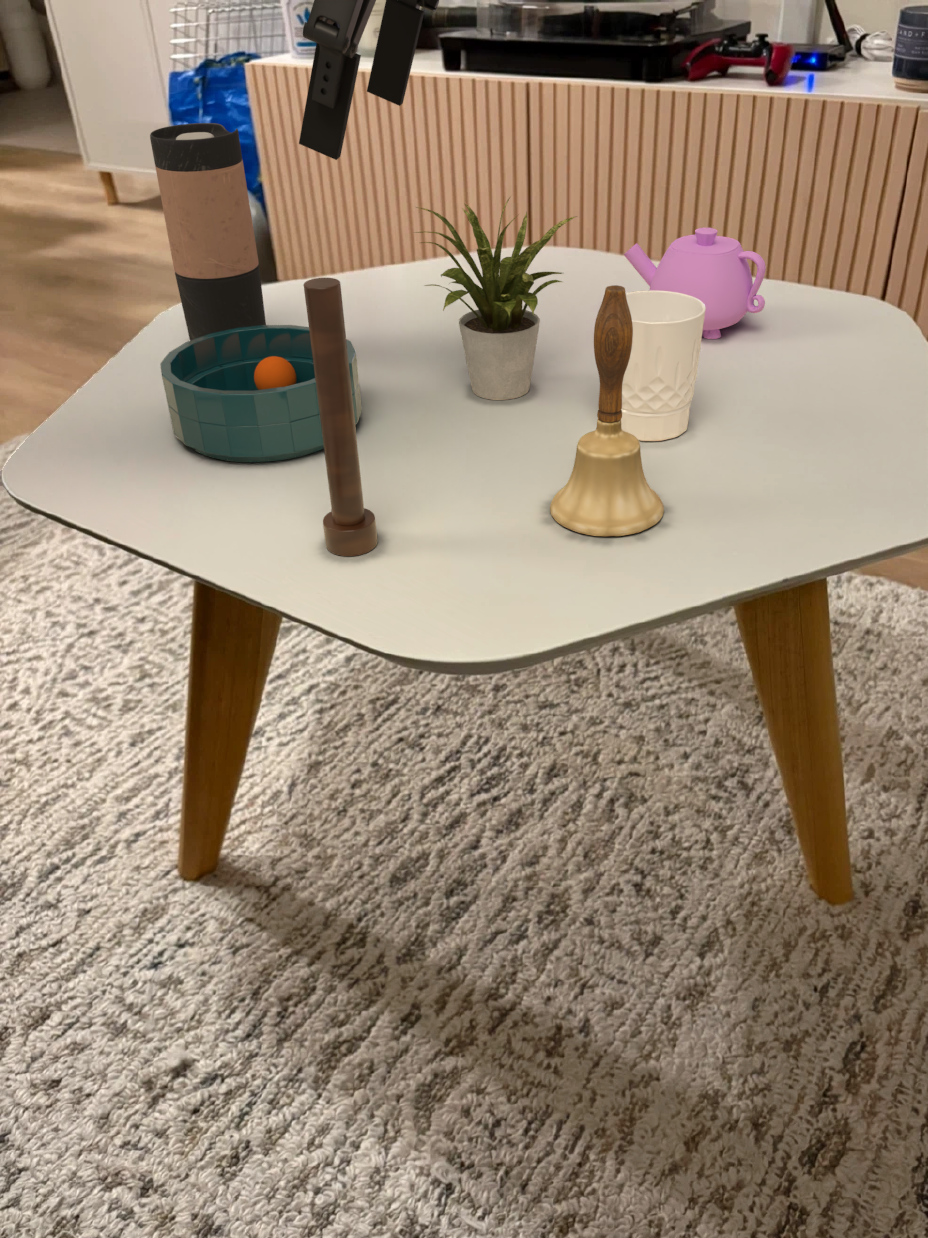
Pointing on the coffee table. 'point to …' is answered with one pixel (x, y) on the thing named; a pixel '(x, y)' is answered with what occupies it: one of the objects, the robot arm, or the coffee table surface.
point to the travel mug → (209, 226)
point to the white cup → (661, 363)
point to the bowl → (247, 395)
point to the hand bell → (609, 444)
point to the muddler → (337, 422)
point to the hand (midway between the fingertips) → (354, 122)
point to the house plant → (498, 310)
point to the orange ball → (274, 373)
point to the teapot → (706, 276)
